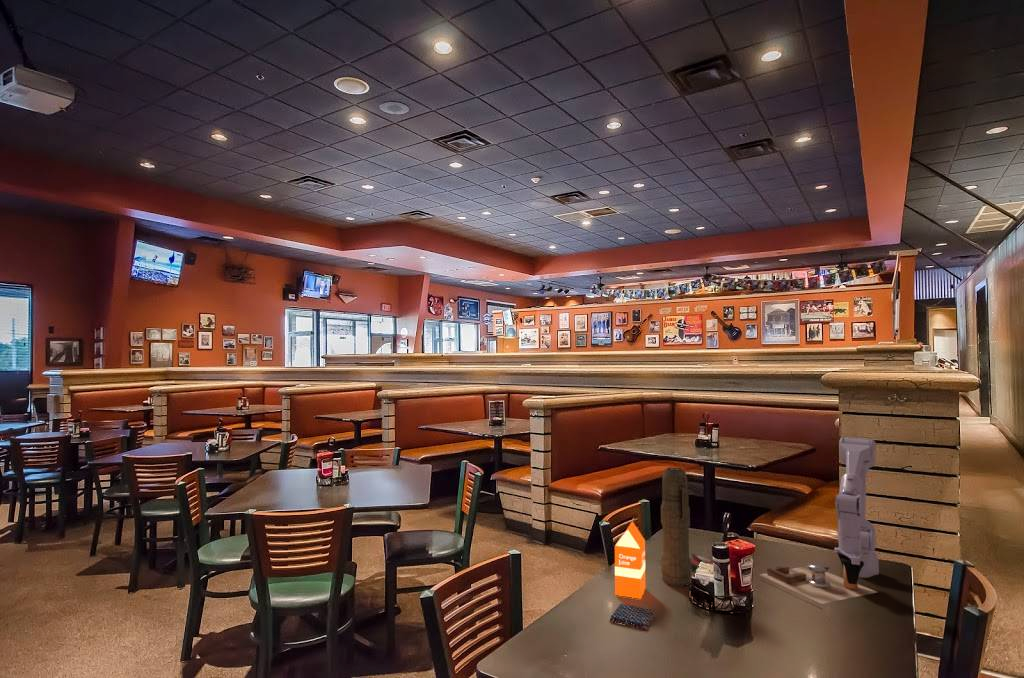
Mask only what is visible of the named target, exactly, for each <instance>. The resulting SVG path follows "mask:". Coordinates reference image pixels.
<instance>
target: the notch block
mask: <svg viewBox="0 0 1024 678" xmlns="http://www.w3.org/2000/svg"><path fill="white" fill-rule="evenodd" d="M789 569H790V566H788V565H780V566H774V567H767V568H766V571H767V575H769V576H771V577H773V578H775V579H777V580H780V581H782V582H784V583H786V584H792V583H797V582H802V581H806V574H805V573H796V574H791V575H786V574H788V573H789Z"/></svg>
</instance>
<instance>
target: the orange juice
mask: <svg viewBox="0 0 1024 678" xmlns="http://www.w3.org/2000/svg"><path fill="white" fill-rule="evenodd" d="M614 586H615V587H614V591H615V593H614V596H615V595H619V596H618V597H620V596H626V597H632V598H631V599H633V598H639V599H641V600H642V598H643V596H644V593H645V591H644V590H646V589H645V588H646V539H645V538H644V537H643V535H642V533H641V532H640V530H639V529H638V527H637V525H636V524H635V523H634V521H633V520H632V521H631V522H630V524H629V526H627V528H626V530H625V531H624V533H623V534H622V536H620V537H619V539H618V540H617V542H616V544H615V545H614ZM642 595H643V596H642ZM626 597H625V598H626ZM641 597H642V598H641ZM639 599H638V600H639Z"/></svg>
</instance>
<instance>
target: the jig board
mask: <svg viewBox="0 0 1024 678" xmlns="http://www.w3.org/2000/svg"><path fill="white" fill-rule="evenodd" d="M796 573H805V574H806V581H802V582H797V583H792V584H786V583H784V582H782V581H780V580H777V579H775V578H773V577H771V576H769V575H767V573H759V576H760V577H763V578H765V579H767V580H769V581H772V582H774V583H776V584H778V585H780V586H782V587H784V588H787V589H789V590H791V591H793V592H795V593H796V594H799V595H801V596H803V597H805V598H807V599H810V600H813V601H815V602H816V603H819V604H820V605H824V604H829V603H834V602H838V601H843V600H848V599H853V598H858V597H861V596H863V597H864V596H866V595H871V594H872V595H873V594H876V593H878V591H876V590H873V589H871V588H868V587H866V586H864V585H861V584H859V583H858V588H857V589H850V588H847V587H845V586H844V577H841V576H839V575H836V574H834V573H831V572H830V571H829V572H825V579H826V580H827V581H829V582H830V587H829V588H818V587H814V586H811V585H809V584H808V579H809V578H812V570H810V569H809V568H808V567H807V565H805V566H799V567H795V568H789V573H788V574H786V575H791V574H796ZM759 580H760V581H762V582H764V583H766V584H768V585H770V586H772V587H774V588H776V589H778V590H780V591H783V592H784V593H787V594H789V595H791V596H793V597H794V598H797V599H800V600H802V601H803V602H806V603H808V604H810V605H812V606H813V607H816V608H818V609H820V610H823V608H821V607H819V606H818V605H816V604H813V603H811V602H808V601H807V600H804V599H802V598H800V597H798V596H797V595H794V594H792V593H790V592H788V591H786V590H784V589H781V588H779V587H776V585H773V584H770V583H769V582H767V581H764V580H763V579H761V578H759Z"/></svg>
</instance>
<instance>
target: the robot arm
mask: <svg viewBox="0 0 1024 678" xmlns="http://www.w3.org/2000/svg"><path fill="white" fill-rule="evenodd" d="M838 444H839V446H838V447H839V454H840V458H841V461H842V464H844V465H845V468H846V470H845V472H846V473H845V474H843V475H842V476H841V478H840V485H839V492H838V494H836V495H835V500H834V503H835V510H836V518H837V519H838V520H837V521H838V524H837V525H838V528H837V529H838V531H837V532H838V535H837V539H838V540H837V541H838V547H837V546H836V547H834V551H835V552H836V554H837V556H838V558H839V560H840V563H841V568H843V564H844V567H845V570H846V576H847V580H848V583H849V584H857V582H858V583H859V578H860V579H861V578H863V579H866V578H871V577H873V576H878V575H879V574H880V573H879V572H880V571H879V570H880V568H879V567H880V566H879V565H880V564H879V556H878V554H877V553H876V551H875V550H876V546H877V545H876V544H877V535H876V528H875V526H874V525H873V524H872V523H871V522H870V521H869V520H868V519H866V513H867V512H866V510H867V509H866V508H867V507H866V506H867V504H866V503H867V476H868V471H869V469H870V468H872V467H875V464H876V455H877V454H876V452H877V446H876V441H875V440H874V439H873V438H871V439H868V438H855V437H853V438H852V437H844V436H842V437H840V439H839V442H838ZM842 573H844V570H843V569H842Z"/></svg>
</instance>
